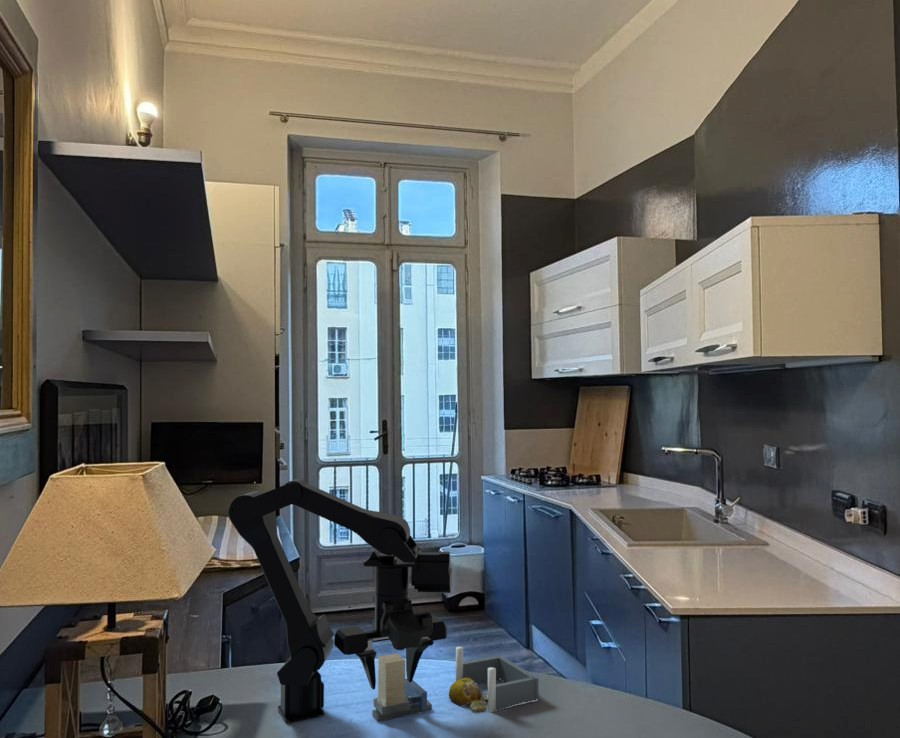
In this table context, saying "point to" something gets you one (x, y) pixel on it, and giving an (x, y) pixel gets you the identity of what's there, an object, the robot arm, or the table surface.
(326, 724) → the table surface
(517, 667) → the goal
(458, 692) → the fruit
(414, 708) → the rail
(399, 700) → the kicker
